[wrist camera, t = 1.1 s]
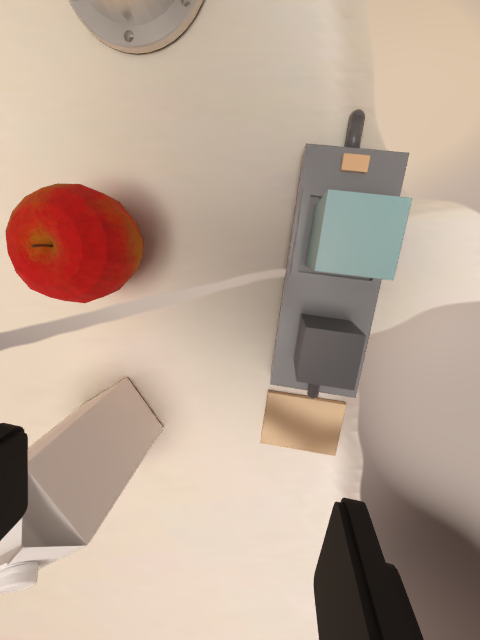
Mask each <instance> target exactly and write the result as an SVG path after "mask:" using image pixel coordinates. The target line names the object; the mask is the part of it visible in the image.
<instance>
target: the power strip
mask: <svg viewBox="0 0 480 640" xmlns="http://www.w3.org/2000/svg"><path fill="white" fill-rule="evenodd" d="M364 120H365V114H364V112H363V111H362V110H359V109H358V110H355V111H354V112H353V113H352V114H351V116H350V120H349V126H348V132H347V137H346V143H345V147H338V146H327V145H316V144H306V146H305V150H304V154H303V160H302V167H301V173H300V180H299V187H298V193H297V200H296V207H295V214H294V220H293V227H292V234H291V241H290V247H289V254H288V261H287V267H286V274H285V281H284V288H283V294H282V301H281V308H280V315H279V321H278V328H277V335H276V341H275V348H274V355H273V362H272V368H271V379H270V384H271V385H277V386H283V387H290V388H296V389H303V390H308V392H307V394H308V396H309V398H311V399H315V398H317V397H318V394H319V392H322V393H328V394H334V395H341V396H347V397H353V398H356V393H357V389H358V384H359V380H360V375H361V371H362V366H363V361H364V357H365V352H366V348H367V343H368V339H369V334H370V330H371V325H372V320H373V316H374V311H375V307H376V302H377V298H378V293H379V289H380V284H381V279H378V278H370V277H361V276H353V275H345V274H337V273H329V272H321V271H314V270H313V269H311V268H309V267H308V266H306V260H307V254H308V248H309V241H310V235H311V229H312V223H313V217H314V211H315V205H316V203H317V202H318V201H319V200H320V199H321V198H322V196H323V195H324V194H325V193H326V192H327V190H328V189H329V190H339V191H349V192H359V193H368V194H378V195H388V196H398V197H400V193H401V188H402V184H403V179H404V175H405V170H406V166H407V161H408V156H409V153H405V152H393V151H383V150H371V149H360V148H359V147H360V141H361V136H362V130H363V125H364Z"/></svg>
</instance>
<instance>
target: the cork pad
mask: <svg viewBox="0 0 480 640" xmlns="http://www.w3.org/2000/svg"><path fill="white" fill-rule="evenodd" d="M345 408H346V404H345V402H341V401H334V400H328V399H322V398H315V399H311V398H309V396H303V395H297V394H290V393H284V392H278V391H271V390H268V395H267V402H266V409H265V415H264V422H263V429H262V436H261V443H264V444H270V445H275V446H281V447H287V448H293V449H298V450H304V451H310V452H316V453H321V454H327V455H333V456H335V454H336V450H337V445H338V440H339V436H340V431H341V426H342V422H343V417H344V412H345Z"/></svg>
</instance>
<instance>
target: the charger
mask: <svg viewBox="0 0 480 640" xmlns="http://www.w3.org/2000/svg"><path fill="white" fill-rule="evenodd" d="M411 201H412V198H408V197H398V196H388V195H378V194H368V193H359V192H349V191H339V190H329V189H328V190H327V192H326V193H325V194H324V195H323V196H322V198H321V199H320V200H319V201H318V202H317V203H316V205H315V211H314V217H313V223H312V229H311V235H310V241H309V248H308V254H307V260H306V266H308V267H309V268H311V269H313V270H314V271H321V272H329V273H337V274H345V275H353V276H361V277H370V278H378V279H386V280H394V276H395V271H396V267H397V262H398V258H399V254H400V249H401V245H402V240H403V236H404V232H405V227H406V223H407V219H408V214H409V210H410V205H411Z"/></svg>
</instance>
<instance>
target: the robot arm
mask: <svg viewBox="0 0 480 640" xmlns="http://www.w3.org/2000/svg"><path fill="white" fill-rule="evenodd" d="M69 2H70V4H71V6H72V8H73V9H74V11H75V13H76V14H77V16H78V18H79V19H80V20H81V21H82V23H83V24H84V25H85V26H86V27H87V29H88V30H89V31H90V32H91V33H92V34H93V35H94V36H95V37H97V38H98V39H99V40H100V41H101V42H103V43H105V44H106V45H108V46H109V47H111V48H114V49H116V50H119V51H122V52H127V53H135V54H139V53H148V52H152V51H155V50H158V49H161V48H163V47H165V46H166V45H168V44H170V43H171V42H173V41H174V40H176V39H177V38H178V37H179V36H180V35H181V34H182V33H183V32H184V31H185V30H186V29H187V27H188V26H189V25H190V23H191V22H192V21H193V19H194V18H195V16H196V14H197V12H198V10H199V8H200V6H201V4H202V2H203V0H69ZM27 507H28V437H27V434H26V433H24V429H23V428H22V427H20V426H15V425H11V424H6V423H0V541H1V540H2V539H3V538H4V537H5V535H6V534H7V533H8V532H9V531H10V530H11V529H12V528H13V527H14V526H15V525H16V524H17V523H18V522H19V521H20V520H21V518H22V517H23V516H24V514H25V512H26V510H27ZM314 595H315V605H316V614H317V624H318V633H319V640H423V636H422V634H421V631H420V628H419V626H418V623H417V620H416V618H415V615H414V612H413V609H412V607H411V604H410V601H409V599H408V596H407V593H406V591H405V588H404V585H403V582H402V580H401V577H400V575H399V573H398V570H397V569H396V568H395V566H394V565H392V564H389V563H386V562H385V559H384V556H383V554H382V550H381V548H380V545H379V542H378V539H377V536H376V533H375V530H374V527H373V524H372V521H371V518H370V516H369V512H368V510H367V507H366V505H365V503H364V502H362V501H357V500H352V499H348V498H343V499H342V500H341V503H340V502H335V503H334V506H333V510H332V513H331V517H330V520H329V524H328V528H327V531H326V535H325V538H324V542H323V545H322V549H321V553H320V556H319V560H318V563H317V567H316V570H315V575H314Z"/></svg>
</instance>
